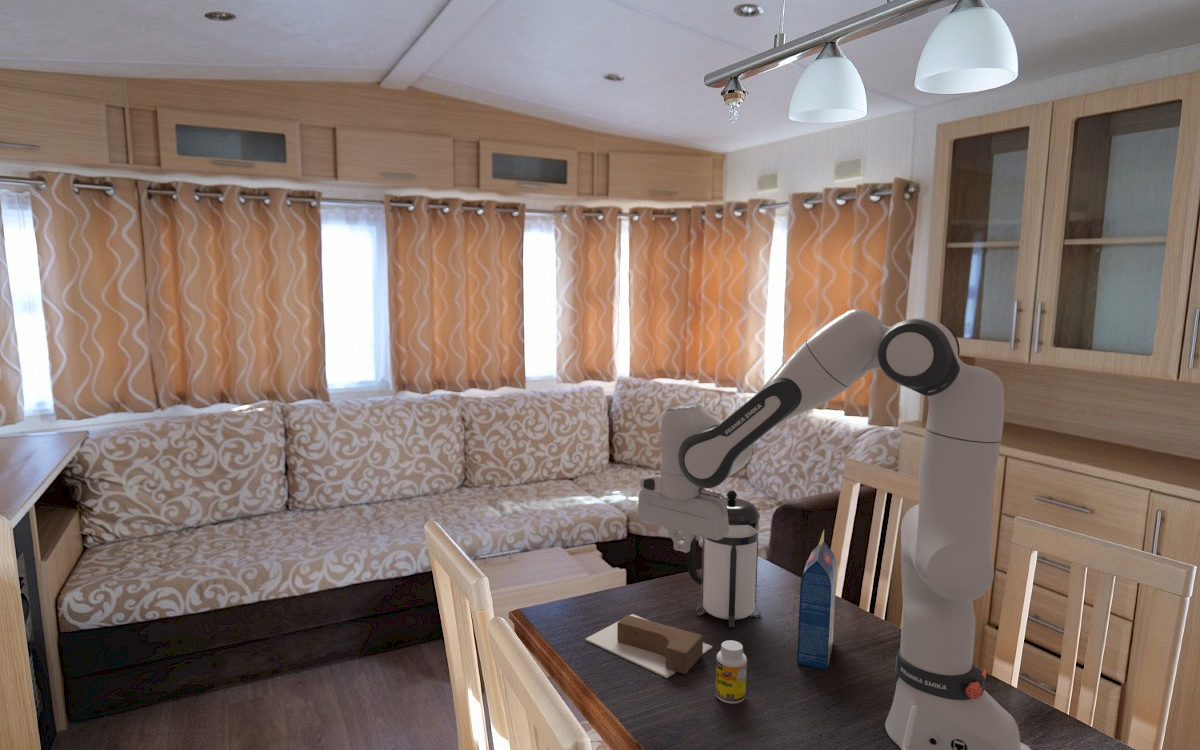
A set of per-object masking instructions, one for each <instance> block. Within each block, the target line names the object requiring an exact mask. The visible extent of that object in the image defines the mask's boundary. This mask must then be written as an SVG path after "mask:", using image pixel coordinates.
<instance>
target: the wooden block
mask: <svg viewBox="0 0 1200 750" xmlns="http://www.w3.org/2000/svg"><path fill="white" fill-rule="evenodd" d="M630 615H631V614H627V615H625V616H624V617H622V618H621V619H620V620H618V621H619V622H618V621H617V622H618V626H617V641H618V642H621V643H624V644H628V645H631V646H634V647H638V648H641V649H645V650H648V651H651V652H655V653H658V654H661V655H663V656H665V657H666V668H667V669H669V670H673V671H676V673H679V674H683V675H686V674H687V673H688V672H689V671H690V670H691V669H692V668H693V666H695V664H696V663H697V662H698V661H699V660H700V658H701V657H702V656H703V655H704V654H703V643H704V635H703V634H701V633H696V632H692V631H689V630H684V629H681V628H678V627H673V626H670V625H666V624H662V623H659V622H655V621H651V620H649V619H646V620H644V619H645V618H644V619H641V618H642V617H641V618H637V617H633V616H630ZM648 620H649V621H648ZM702 654H703V655H702Z"/></svg>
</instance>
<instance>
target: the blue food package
mask: <svg viewBox="0 0 1200 750" xmlns="http://www.w3.org/2000/svg"><path fill="white" fill-rule="evenodd" d="M824 539H825V530H823V531H822V533H821V537H820V540H819V542H818V544H817V546H816V547H815V548H814V549H812V551H811V553H810V555H809V557H808V559H807V560H806V564H805V566H804V569H803V573H802V576H801V580H800V587H799V606H798V607H799V609H798V630H797V631H798V632H797V651H796V653H797V654H796V655H797V656H796V663H797V664H800V665H804V666H808V667H813V668H818V669H824V670H827V669H828V666H829V665H830V659H831V656H832V651H833V643H834V631H835V629H834V627H835V613H836V612H835V610H836V609H835V608H836V592H837V591H836V590H837V571H838V570H837V569H838V568H837V567H838V565H837V559H836V557H835V554H834V553H833V551H832V550H831V549H830V547H829V546H828V545H827V544H826V542H825V540H824Z"/></svg>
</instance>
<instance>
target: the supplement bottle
mask: <svg viewBox="0 0 1200 750" xmlns="http://www.w3.org/2000/svg"><path fill="white" fill-rule="evenodd" d="M720 646H721V647H720V650H719V651H718V652H717V654H716V658H715V659H716V661H715V662H716V663H715V664H716V666H715V668H716V669H715V696H716V697H717V698H718V700H720V701H721V702H722V703H723V702H724V703H727V704H733V705H734V704H739V703H742V702H743V701H744V700H745V698H746V693H747V692H746V690H747V688H746V687H747V666H748V659H747V656H746V654H745V653H744V647H743V646H744V645H743V644H742V643H741V642H739V641H736V640H731V639H730V640H725V641H723V642H722V643H721V645H720Z"/></svg>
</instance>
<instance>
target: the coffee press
mask: <svg viewBox="0 0 1200 750" xmlns="http://www.w3.org/2000/svg"><path fill="white" fill-rule="evenodd" d="M725 499H726V500H727V513H728V522H729V533H728V534H727V536H726V537H724V538H722V539H720V540H713V539H709V538H705V537H702V562H701V563H702V564H701V575H700V574H699V572H698V571H697V569H696V537H697V535H695V537H694V538H693V540H692V542H691V543H690V551H689V552H687V553H686V564H687V570H688V571H687V572H688V573H689V574H688V575H689V576H690V578H691V579H692V580H693V581H694V582H695V583H697V584H698V585H700V586H701V597H700V603H699V604H698V606H697V607H696V608H695V612H696V613H695V614H696V615H697V616H699V617H701V616H703V615H704V614H705V613H708V614H709V615H711V616H713V617H716V618H718V619H721V620H722V619H723V620H727V626H728V627H727V628H728V631H729V630H730V631H732V630H733V631H734V630H736V624H735V623H736V620H741V619H742V620H743V619H745V618H748V617H749V616H753V617H755V618H756V619H760V617H761V616H762V615H761V611H760V610H759V608H758V607H757V587H758V583H757V582H758V580H757V579H758V559H759V557H758V556H759V555H758V554H759V534H760V533H761V531H760V530H761V529H760V528H761V527H760V518H761V514H760V512H759V510H758V508H757V507H756V506H755V504H753V503H751V502H750V501H748V500H746V499H741V498H738V495H737V492H736V491H735V490H732V489H731V490H729V491H728V492H727V493H726V497H725ZM701 607H703V610H702V611H700V612H698V611H699V609H700V608H701ZM755 608H756V610H757V612H758V614H755V613H754V611H755Z"/></svg>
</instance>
